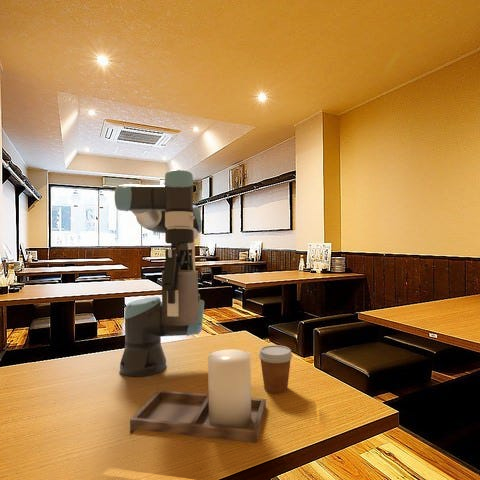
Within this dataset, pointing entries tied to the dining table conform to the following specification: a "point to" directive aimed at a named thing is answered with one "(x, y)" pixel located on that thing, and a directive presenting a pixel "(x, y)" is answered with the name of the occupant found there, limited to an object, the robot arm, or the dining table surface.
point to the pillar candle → (183, 300)
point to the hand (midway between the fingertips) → (180, 312)
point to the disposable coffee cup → (275, 368)
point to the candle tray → (192, 417)
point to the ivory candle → (229, 388)
